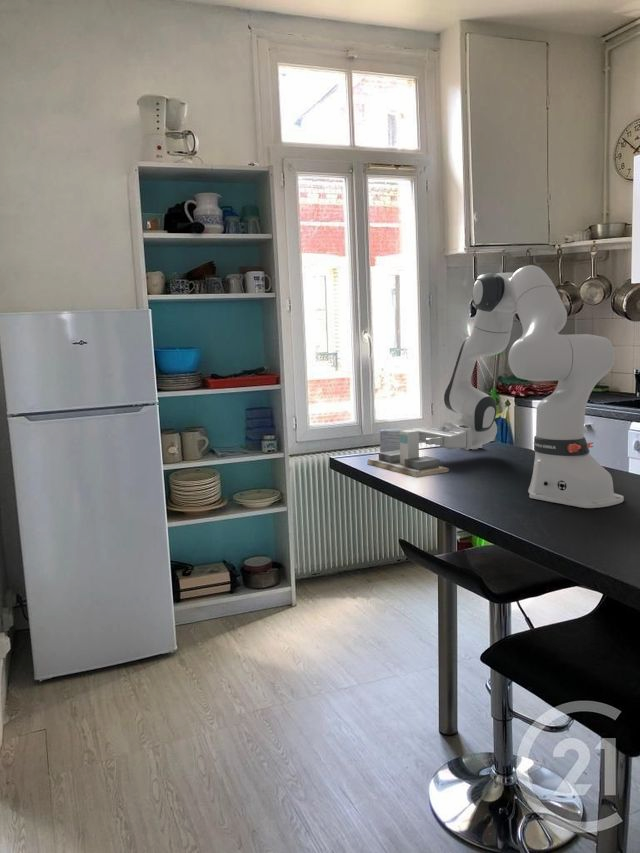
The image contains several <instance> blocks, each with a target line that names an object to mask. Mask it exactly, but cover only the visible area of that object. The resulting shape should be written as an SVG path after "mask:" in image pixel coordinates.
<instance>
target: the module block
mask: <svg viewBox="0 0 640 853" xmlns="http://www.w3.org/2000/svg"><path fill="white" fill-rule="evenodd" d="M416 457H420V441H419V431H415V430H411V429H405V430H403V431H400V464H403V465H405V459H409V458H416Z"/></svg>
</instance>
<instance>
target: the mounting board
mask: <svg viewBox="0 0 640 853" xmlns="http://www.w3.org/2000/svg"><path fill="white" fill-rule="evenodd" d="M367 465H370V466H375V467H378V468H381V469H384V470H389V471H392V472H396V473H401V474H404V475H406V476H407V475H408V476H411V477H415V478H417V477H424V476H430V475H436V474H443V473H448V472H450V468H449V467H445V466H441V465H440V458H436V457H431V456H427V455H426V456H425V455H424V456H419V457H416V458H409V459H405V465H403V464H400V450H397V451H389V452H382V453H380V452H378V458H377V459H376V458H367Z"/></svg>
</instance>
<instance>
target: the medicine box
mask: <svg viewBox="0 0 640 853" xmlns="http://www.w3.org/2000/svg"><path fill="white" fill-rule="evenodd" d="M403 430H404V428H387V429H385V428H383V429H380V430H379V451H380V452H379V453H382V452H389V451H397V450H400V431H403Z"/></svg>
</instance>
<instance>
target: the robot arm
mask: <svg viewBox="0 0 640 853" xmlns="http://www.w3.org/2000/svg"><path fill="white" fill-rule="evenodd" d="M471 294H472V296H471V297H472V302H473V304H474V306H475V308H476V309H477V310H476V314H475V318H474V323H473V327H472V331H471V333H470V334H469V336H467V337H466V338H465V339H464V341H463V343H462V344H461V346H460V350H459V353H458V356H457V358H456V362H455V365H454V368H453V372H452V375H451V378H450V381H449V384H448V385H447V387H446V389H445V391H444V395H443V402H444V405H445V407H446V408H447V409H448V410H449V411H452V412H454V413H456V414H459V415H460V416H462V417H461V419H456V420H450V421H449V420H448V421H444V422H442V424H441V425H440V427H439V428H436V427H426V426H425V427H413V428H410V430H415V431H419V443H425V444H426V445H428V446H431V445H436V446H440V447H442V448H444V449H446V450H449V451H451V450H459V449H461V450H466V449H471V447H472V446H479V445H482V446H483V445H486V444H488V443H490V442H492V441H494V439H495V437H496V435H497V433H498V425H497V423H496V420H495V419H496V417H497V412H498V410H497V408H498V406H497V401H496V399H495V398H494V397H492V396H490V395H489V394H487V393H485V392H484V391H481V390H479V389H478V388H476V387H475V386H473V385H472V383H471V378H472V376H473V372H474V369H475V365H476V363H477V360H478V359H479V358H481V357H491V356H492V357H493V356H496V355H498V354H501V353H502V352H503V351H505V350H506V349H507V347H508V345H509V343H510V339H511V334H512V330H513V326H514V325H513V322H514V316H515V315H516V314H517V317H518V318H519V322H520V324H521V328H522V334H521V336H520V337H519V338H518V339H516V340H515V342H514V343H512V345H511V347H510V349H509V352H508V357H507V358H508V359H507V360H508V361H507V362H508V366H509V370H510V371H511V373H512V374H513V375H514V376H515V377H516V378H517V379H521V380H525V381H526V380H527V381H532V382H547V381H548V382H549V381H558V382H557V385H556V387H555V390H554V391H553V392H551V394H549V395H548V396H546V397H544V398H542V400H541V401H540V402H539V403H538V405H537V407H536V422H535V425H536V427H535V436H534V438H533V451H534V462H533V469H532V470H533V471H532V474H531V480H530V483H529V484H530V485H529V487H528V490H527V492H528V494H529V496H528V497H529V499H535V500H538V501H539V500H540V501H545V502H549V503H556V504H562V505H566V506H572V507H578V508H584V509H595V508H597V509H598V508H605V507H611V506H615V505H619V504H621V503H623V502H624V500H625V499H624V495H621V494H618V493H616V492H614V481H613V477H612V474H611V472H609V471H608V470H606V468H604V467H603V465H601V464H600V463H599V462H598V461H597V460H596V459H595V458H594V457H593V456H592V455H591V454H590V448H594V446H593V444H594V442H587V440H586V437H584V433H585V432H584V431H585V418H586V409H587V404H588V400H589V398H590V396H591V393H592V391H593V390H594V388H595V387H596V385H597V384H598V383H599V382H600V381H601V379H603V378H604V377H605V376H606V375H607V374H609V373H610V372H611V370H612V368H613V367H614V364H615V361H616V351H615V348H614V345H613V343H612V342H611V341H610V339H608V338H607V337H605V336H600V335H595V334H588V333H582V334H581V333H577V334H575V333H574V334H560V333H559V332H560V331H561V330H563V329H564V327H565V326H566V323H567V320H568V312H567V309H566V307H565V305H564V302H563V300H562V299H561V296H560V293H558V290H557V288H556V286H555V284H554V283H553V281H552V279H551V278H550V277H549V275H548V274H547V273H546V272H545V271H544V270H543V269H542V268H541V267H540V266H538V265H534V264H533V265H532V264H529V265H524V266H522V267H520V268H519V269H517V270H516V271H515V272H497V273H494V272H488V273H487V272H486V273H483V274H480V275H479V276H478V277H477V278H476V279H475V281H474V282H473V286H472V291H471Z"/></svg>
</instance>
